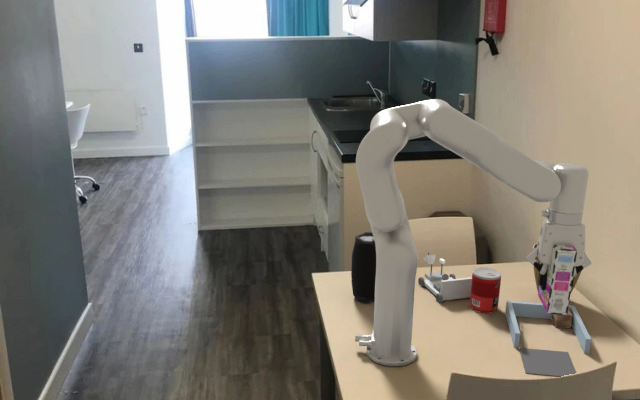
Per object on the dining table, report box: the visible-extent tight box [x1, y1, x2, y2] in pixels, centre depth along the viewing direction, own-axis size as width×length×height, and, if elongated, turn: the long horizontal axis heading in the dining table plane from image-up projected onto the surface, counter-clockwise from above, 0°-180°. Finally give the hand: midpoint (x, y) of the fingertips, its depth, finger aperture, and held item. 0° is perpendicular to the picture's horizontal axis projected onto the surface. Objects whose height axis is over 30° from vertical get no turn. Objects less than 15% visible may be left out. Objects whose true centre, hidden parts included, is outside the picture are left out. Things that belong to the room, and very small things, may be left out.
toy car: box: [417, 252, 472, 304], centre depth 199 cm, size 18×10×12 cm
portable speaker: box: [350, 231, 376, 304], centre depth 191 cm, size 9×9×20 cm
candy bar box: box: [537, 245, 577, 315], centre depth 155 cm, size 11×5×16 cm, turn 173°
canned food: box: [469, 267, 502, 314], centre depth 187 cm, size 8×8×11 cm
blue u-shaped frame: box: [505, 300, 592, 354], centre depth 174 cm, size 18×19×4 cm
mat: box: [518, 347, 577, 377], centre depth 160 cm, size 12×12×1 cm
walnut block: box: [551, 309, 572, 329], centre depth 179 cm, size 4×4×4 cm
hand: (554, 288), depth 156 cm, fingers closed on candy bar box, 5 cm apart
